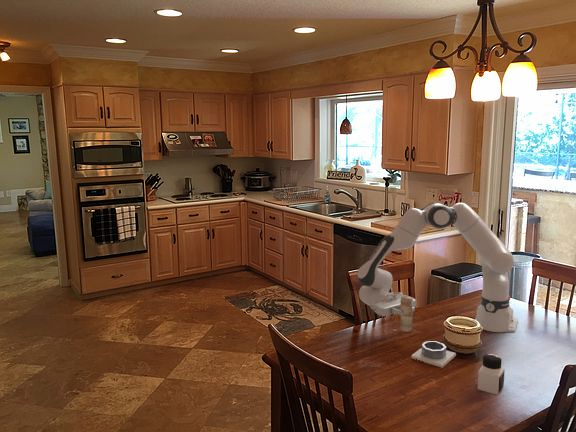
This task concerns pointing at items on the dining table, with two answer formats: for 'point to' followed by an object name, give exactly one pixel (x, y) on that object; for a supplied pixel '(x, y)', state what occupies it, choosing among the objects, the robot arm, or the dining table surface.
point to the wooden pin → (406, 314)
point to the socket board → (434, 362)
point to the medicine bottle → (491, 374)
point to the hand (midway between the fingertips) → (408, 311)
